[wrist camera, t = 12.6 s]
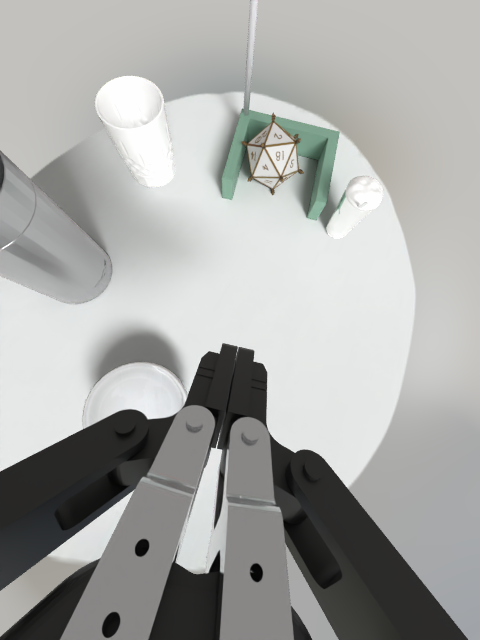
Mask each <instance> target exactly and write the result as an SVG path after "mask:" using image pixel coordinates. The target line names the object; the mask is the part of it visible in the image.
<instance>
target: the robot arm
mask: <svg viewBox="0 0 480 640" xmlns="http://www.w3.org/2000/svg"><path fill="white" fill-rule="evenodd" d="M111 274H112V265H111V261H110V259H109V257H108V255H107V254H106V253H105V251H104V250H103V249H102V248H101V247H100V246H99V245H98V244H97V243H96V242H95V241H93V240H92V239H91V238H90V237H89V235H87V234H86V233H85V232H84V231H83V230H82V229H81V228H80V227H79V226H78V225H77V224H76V223H75V222H74V221H73V220H72V219H71V218H70V217H69V216H68V215H67V214H66V213H65V212H64V211H63V210H62V209H61V208H59V207H58V206H57V205H56V204H55V203H54V202H53V201H52V200H51V199H50V198H49V197H48V196H47V195H46V194H45V193H44V192H43V191H42V190H41V189H40V188H39V187H38V186H37V185H36V184H35V183H34V182H33V181H31V180H30V179H29V178H28V177H27V176H26V175H25V174H24V173H23V172H22V171H21V170H20V169H19V168H18V167H17V166H16V165H15V164H14V163H13V162H12V161H11V160H9V159H8V158H7V157H6V156H5V155H4V154H3V153H2V152H1V151H0V276H1V277H4V278H6V279H9V280H11V281H13V282H16V283H18V284H21V285H23V286H25V287H28V288H30V289H33V290H35V291H37V292H39V293H42V294H44V295H47V296H49V297H51V298H54V299H56V300H59V301H61V302H65V303H69V304H79V303H84V302H87V301H90V300H92V299H94V298H95V297H97V296H98V295H100V294H101V293H102V292H103V291H104V289H105V288H106V287H107V285H108V283H109V281H110V278H111ZM237 349H238V347H237V346H233V345H229V344H224V343H223V344H222V347H221V351H220V354H218V353H214V352H210V351H209V352H208V353H207V354H205V355H204V356H203V357H202V358H201V361H200V364H199V367H198V369H197V372H196V375H195V377H194V380H193V383H192V386H191V388H190V391H189V394H188V397H187V399H186V402H185V404H184V406H183V407H182V409H181V410H180V411H179V412H177V413H176V414H174V415H172V416H169V417H166V418H157V419H147V417H146V416H145V414H144V413H142V412H140V411H138V410H135V409H126V410H121V411H118V412H116V413H114V414H112V415H110V416H108V417H106V418H104V419H102V420H100V421H98V422H96V423H94V424H92V425H91V426H89V427H87V428H85V429H83V430H81V431H79V432H77V433H75V434H73V435H71V436H69V437H67V438H65V439H63V440H61V441H59V442H57V443H55V444H53V445H51V446H49V447H48V448H46V449H44V450H42V451H40V452H38V453H36V454H34V455H32V456H30V457H28V458H26V459H24V460H22V461H20V462H18V463H16V464H14V465H12V466H10V467H8V468H6V469H4V470H3V471H1V472H0V591H1V590H2V589H3V588H5V587H6V586H7V585H9V584H10V583H11V582H12V581H14V580H15V579H16V578H18V577H19V576H21V575H22V574H23V573H25V572H26V571H27V570H28V569H30V568H31V567H32V566H34V565H35V564H36V563H38V562H39V561H40V560H42V559H43V558H44V557H46V556H47V555H48V554H50V553H51V552H52V551H54V550H55V549H56V548H58V547H59V546H60V545H62V544H63V543H64V542H66V541H67V540H68V539H70V538H71V537H72V536H74V535H75V534H76V533H77V532H79V531H80V530H81V529H83V528H84V527H85V526H87V525H88V524H89V523H91V522H92V521H93V520H95V519H96V518H97V517H99V516H100V515H101V514H103V513H104V512H105V511H107V510H108V509H109V508H111V507H112V506H113V505H115V504H116V503H117V502H119V501H120V500H121V499H123V498H124V497H125V496H127V495H128V494H129V493H130V492H132V491H133V490H134V489H135V490H134V492H133V494H132V496H131V498H130V500H129V502H128V504H127V506H126V508H125V510H124V512H123V514H122V516H121V518H120V520H119V522H118V524H117V526H116V529H115V531H114V533H113V535H112V537H111V539H110V541H109V543H108V545H107V547H106V549H105V551H104V553H103V555H102V557H101V558H100V559H98V560H96V561H93V562H91V563H89V564H87V565H86V566H84V567H82V568H81V569H79V570H78V571H76V572H75V573H74V574H72V575H71V576H69V577H68V578H66V579H65V580H64V581H63V582H62V583H61V584H59V585H58V586H57V587H56V588H55V589H54V590H53V591H51V592H50V593H49V594H48V595H47V596H46V597H45V598H44V599H43V600H41V601H40V602H39V603H38V604H37V605H36V606H35V607H34V608H33V609H31V610H30V611H29V612H28V613H27V614H26V615H24V616H23V617H22V618H21V619H20V620H19V621H18V622H17V623H16V624H14V625H13V626H12V627H11V628H10V629H9V630H8V631H6V632H5V633H4V634H3V635H2V636H1V637H0V640H312V638H311V636H310V634H309V632H308V630H307V629H306V627H305V625H304V624H303V622H302V620H301V619H300V617H299V616H298V614H297V613H296V612H295V610H294V609H293V608H292V606H291V603H290V592H289V582H288V581H289V580H288V570H287V559H286V548H285V543H286V545H287V547H288V548H289V550H290V552H291V554H292V556H293V558H294V560H295V561H296V563H297V565H298V567H299V569H300V570H301V572H302V574H303V576H304V577H305V579H306V581H307V583H308V585H309V587H310V588H311V590H312V592H313V594H314V596H315V597H316V599H317V601H318V603H319V605H320V606H321V608H322V610H323V612H324V614H325V616H326V617H327V619H328V621H329V623H330V625H331V626H332V628H333V630H334V632H335V634H336V635H337V637H338V639H339V640H468V639H467V638H466V636H465V635H464V634H463V633H462V631H461V630H460V629H459V628H458V626H457V625H456V624H455V623H454V621H453V620H452V619H451V618H450V616H449V615H448V614H447V613H446V611H445V610H444V609H443V608H442V606H441V605H440V604H439V602H438V601H437V600H436V599H435V598H434V596H433V595H432V594H431V592H430V591H429V590H428V589H427V587H426V586H425V585H424V584H423V582H422V581H421V580H420V579H419V577H418V576H417V575H416V574H415V572H414V571H413V570H412V569H411V567H410V566H409V565H408V564H407V562H406V561H405V560H404V559H403V557H402V556H401V555H400V554H399V552H398V551H397V550H396V549H395V547H394V546H393V545H392V544H391V542H390V541H389V540H388V539H387V537H386V536H385V535H384V534H383V532H382V531H381V530H380V529H379V527H378V526H377V525H376V524H375V522H374V521H373V520H372V519H371V518H370V516H369V515H368V514H367V512H366V511H365V510H364V509H363V508H362V506H361V505H360V504H359V502H358V501H357V500H356V499H355V498H354V496H353V495H352V494H351V492H350V491H349V490H348V488H347V487H346V486H345V485H344V483H343V482H342V481H341V480H340V478H339V477H338V476H337V475H336V473H335V472H334V471H333V470H332V468H331V467H330V466H329V465H328V463H327V462H326V461H325V460H324V459H323V458H322V457H321V456H320V455H318V454H317V453H315V452H313V451H310V450H300V451H297V452H296V453H294V452H293V451H291V450H289V449H287V448H286V447H284V446H282V445H281V444H279V443H278V442H277V441H275V439H274V438H273V437H272V436H271V435H270V433H269V431H268V428H267V425H266V407H267V371H266V369H265V367H264V365H263V364H261V363H257V362H253V360H254V350H250V349H246V348H242V347H239V349H238V352H237ZM236 354H237V356H236ZM235 359H236V360H235ZM220 430H221V431H220ZM219 433H220V436H219ZM218 437H219V441H218ZM217 441H218V446H217V449H222V456H221V462H220V465H219V468H218V474H217V484H216V493H215V503H214V512H213V522H212V530H211V537H210V542H209V547H208V554H207V562H206V571H205V573H204V574H193V573H191V572H189V571H188V570H186V569H185V568H183V567H182V566H180V565H178V564H177V563H176V562H177V559H178V555H179V552H180V549H181V545H182V542H183V538H184V535H185V531H186V527H187V524H188V521H189V517H190V514H191V511H192V507H193V504H194V501H195V497H196V494H197V491H198V487H199V484H200V481H201V477H202V474H203V471H204V468H205V467H206V465H207V462H208V459H209V455H210V451H211V447H212V448H216V444H217Z"/></svg>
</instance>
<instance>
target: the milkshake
mask: <svg viewBox="0 0 480 640" xmlns="http://www.w3.org/2000/svg"><path fill="white" fill-rule="evenodd" d="M382 199H383V188H382V186H381V184H380V183H379V181H378V180H377V179H374V178H372V177H370V176H360V177H355V178H353V179H352V180H351V181H350V182H349V184H348V185H347V187H346V189H345V191H344V193H343V195H342V197H341V199H340V202H339V203H338V205H337V207H336V209H335V211H334V213H333V214H332V216H331V218H330V220H329V222H328V224H327V227H326V230H327V233H328V235H329V236H331V237H332V238H336V239H340V238H342V237H344V236H345V235H346V234H348V233H349V232H350V231H351V230H352V229H353V228H354V227H355V226H356V225H357V224H358V223H359V222H360V221H361V220H362V219H364V218H365V217H366V216H367V215H368V214H369V213H370V212H372V211H373V210H374V209H375V208H376V207H377V206H378V205H379V204H380V203H381V201H382Z"/></svg>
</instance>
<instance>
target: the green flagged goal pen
mask: <svg viewBox="0 0 480 640" xmlns="http://www.w3.org/2000/svg"><path fill="white" fill-rule="evenodd" d="M257 7H258V0H250V14H249V29H248V45H247V61H246V79H245V93H244V109H243V108H242V111H241V114H240V118H239V121H238V124H237V128H236V131H235V135H234V138H233V142H232V145H231V148H230V152H229V155H228V159H227V162H226V165H225V169H224V172H223V176H222V198H226V199H230V200H232V198H233V194H234V190H235V187H236V183H237V179H238V176H239V172H240V169H241V165H242V161H243V158H244V154H245V150H246V147H247V146H244V145H243V144H242V142H241V141H245V142H246V143H248V142H250V141H251V140H252V139H253V138H254V137H255V136H256V135H257V134H259V133H260V132H261V131H262V130H263V129H264V128H265V127H267V126H268V125H269V124H270V123H271V122H272V117H271V116H272V115H268V114H263V113H259V112H255V111H251V110H249V103H250V91H251V78H252V67H253V55H254V43H255V31H256V30H255V29H256V18H257ZM275 122H276V123H277V124H278V125H280V126H281V127H282V128H283V129H285V130H286V131H287V132H288V133H290V134H291V135H292V136H293V137H294V135H295V134H299V135H298V138H300V139H301V140H300V143H298V144H297V155H300V156H304V157H308V158H312V159H316V160H318V165H317V170H316V176H315V181H314V186H313V191H312V196H311V201H310V206H309V211H308V216H307V218H309V219H313V220H317V219H318V217H319V215H320V214H321V212H322V210H323V208H324V207H325V205H326V203H327V198H328V193H329V187H330V182H331V176H332V171H333V165H334V160H335V154H336V149H337V143H338V138H339V133H340V132H338V131H334V130H330V129H325V128H321V127H317V126H313V125H309V124H305V123H301V122H297V121H292V120H288V119H284V118H280V117H276V116H275ZM295 140H296V139H295Z"/></svg>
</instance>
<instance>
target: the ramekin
mask: <svg viewBox="0 0 480 640" xmlns="http://www.w3.org/2000/svg"><path fill="white" fill-rule="evenodd" d="M187 397H188V395H187V392H186V389H185V387H184V386H183V384H182V383H181V381H180V380H179V378H178V377H177V376H176V375H175V374H174V373H172V372H171V371H170V370H168V369H167V368H165V367H163V366H161V365H158V364H154V363H150V362H133V363H128V364H124V365H121V366H119V367H117V368H115V369H113V370H111V371H110V372H108V373H107V374H105V375H104V376H103V377H102V378H101V379H100V380H99V381H98V382H97V383H96V384H95V385H94V387H93V388H92V390H91V391H90V393H89V395H88V397H87V399H86V402H85V406H84V410H83V419H82V422H83V429H85V428H87V427H89V426H91V425H92V424H94V423H96V422H98V421H100V420H102V419H104V418H106V417H108V416H110V415H112V414H114V413H116V412H118V411H121V410H126V409H135V410H138V411H140V412H142V413H144V414H145V416H146V417H147V419H157V418H166V417H169V416H172V415H174V414H176V413H177V412H179V411H180V410H181V409H182V407H183V406H184V404H185V402H186V399H187Z"/></svg>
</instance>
